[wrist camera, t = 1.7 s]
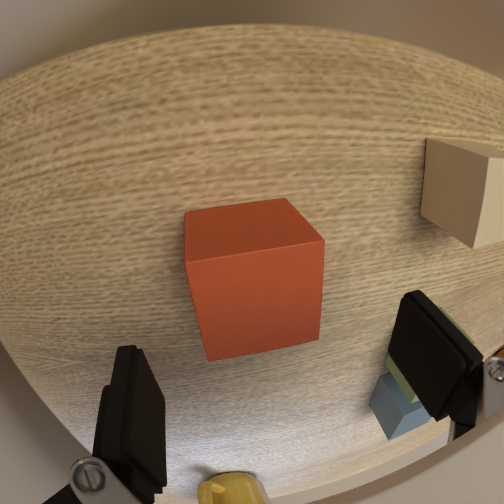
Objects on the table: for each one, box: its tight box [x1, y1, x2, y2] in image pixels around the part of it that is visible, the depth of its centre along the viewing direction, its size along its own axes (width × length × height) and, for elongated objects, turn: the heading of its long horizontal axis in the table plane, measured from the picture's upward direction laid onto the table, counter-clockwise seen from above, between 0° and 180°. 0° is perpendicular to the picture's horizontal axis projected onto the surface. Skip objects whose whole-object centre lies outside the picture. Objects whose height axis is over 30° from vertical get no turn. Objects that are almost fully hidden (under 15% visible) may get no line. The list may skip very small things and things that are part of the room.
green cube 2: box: [385, 307, 475, 404], centre depth 21 cm, size 5×5×5 cm
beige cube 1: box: [420, 137, 504, 249], centre depth 14 cm, size 5×5×5 cm
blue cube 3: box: [369, 373, 431, 440], centre depth 24 cm, size 5×5×5 cm
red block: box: [184, 198, 325, 361], centre depth 14 cm, size 5×5×5 cm
